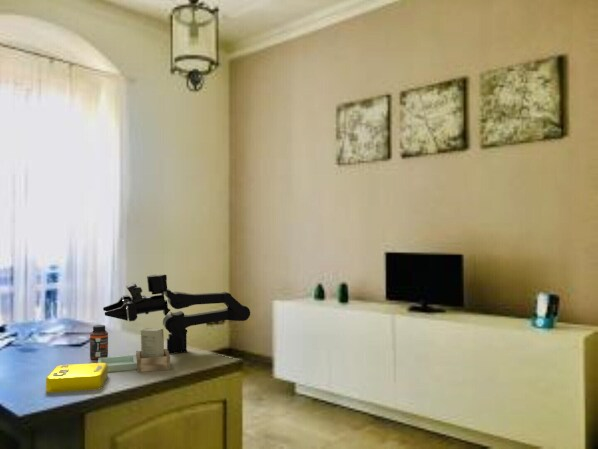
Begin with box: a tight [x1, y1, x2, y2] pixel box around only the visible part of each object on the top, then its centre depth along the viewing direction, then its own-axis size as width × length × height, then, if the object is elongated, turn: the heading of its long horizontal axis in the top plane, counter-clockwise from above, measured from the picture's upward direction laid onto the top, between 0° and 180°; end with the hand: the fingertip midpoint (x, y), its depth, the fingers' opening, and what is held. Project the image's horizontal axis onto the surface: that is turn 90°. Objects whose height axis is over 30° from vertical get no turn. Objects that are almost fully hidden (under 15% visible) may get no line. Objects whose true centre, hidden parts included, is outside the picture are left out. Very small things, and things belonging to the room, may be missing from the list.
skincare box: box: [140, 327, 165, 358], centre depth 175 cm, size 6×4×12 cm
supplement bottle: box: [89, 324, 109, 361], centre depth 186 cm, size 6×6×11 cm
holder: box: [135, 348, 171, 373], centre depth 175 cm, size 10×12×4 cm
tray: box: [97, 354, 137, 373], centre depth 175 cm, size 12×12×2 cm
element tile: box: [45, 362, 109, 394], centre depth 156 cm, size 15×15×5 cm
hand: (104, 311), depth 185 cm, fingers open, 9 cm apart
